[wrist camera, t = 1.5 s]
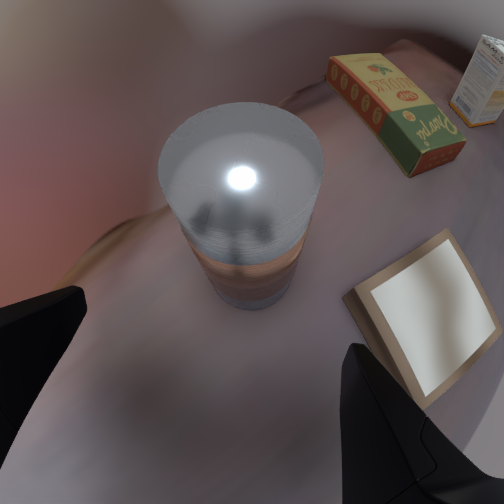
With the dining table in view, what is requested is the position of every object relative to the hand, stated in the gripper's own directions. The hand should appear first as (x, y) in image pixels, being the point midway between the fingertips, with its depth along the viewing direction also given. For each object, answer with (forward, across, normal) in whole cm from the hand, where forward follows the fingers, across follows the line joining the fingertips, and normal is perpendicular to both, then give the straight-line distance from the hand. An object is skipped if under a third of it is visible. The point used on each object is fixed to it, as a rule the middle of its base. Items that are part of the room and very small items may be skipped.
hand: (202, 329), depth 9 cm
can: (+13, 0, +4) cm, 14 cm away
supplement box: (+33, -27, -15) cm, 45 cm away
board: (+11, -14, +6) cm, 19 cm away
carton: (+28, -12, -10) cm, 32 cm away
